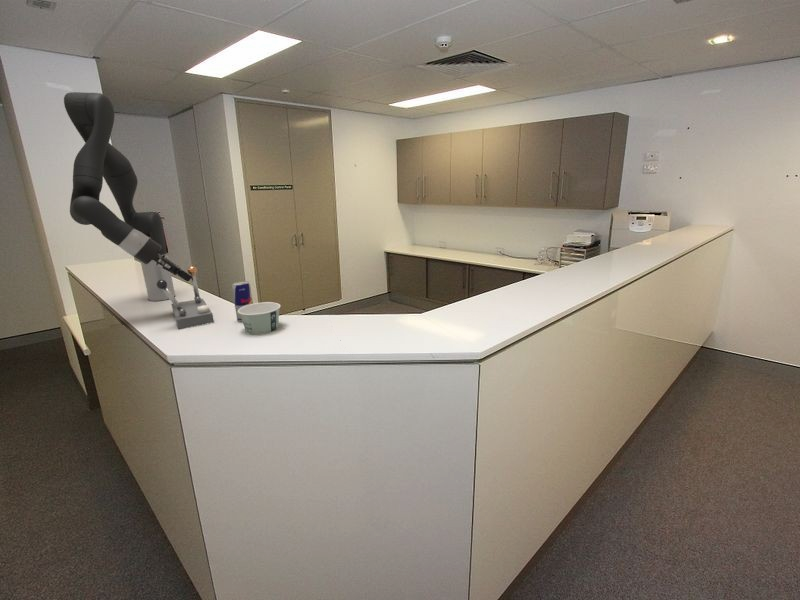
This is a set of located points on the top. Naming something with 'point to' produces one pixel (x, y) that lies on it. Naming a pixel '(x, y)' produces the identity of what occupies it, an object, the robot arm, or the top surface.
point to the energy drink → (241, 296)
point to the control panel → (192, 314)
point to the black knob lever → (171, 296)
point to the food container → (260, 317)
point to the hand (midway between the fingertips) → (189, 279)
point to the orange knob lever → (194, 283)
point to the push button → (203, 308)
